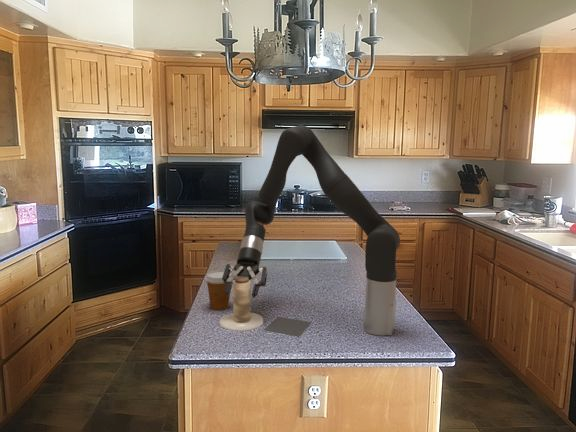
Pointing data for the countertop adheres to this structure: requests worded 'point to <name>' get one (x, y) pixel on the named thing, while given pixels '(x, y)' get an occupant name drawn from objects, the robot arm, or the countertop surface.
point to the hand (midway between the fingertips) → (240, 295)
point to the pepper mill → (241, 299)
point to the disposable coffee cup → (217, 290)
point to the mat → (288, 326)
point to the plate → (230, 324)
